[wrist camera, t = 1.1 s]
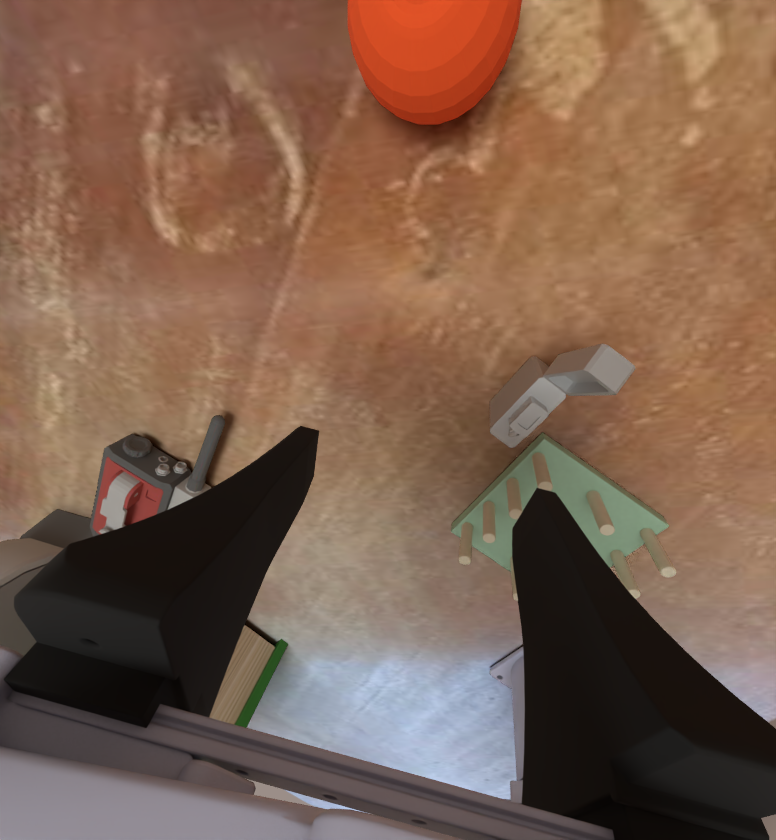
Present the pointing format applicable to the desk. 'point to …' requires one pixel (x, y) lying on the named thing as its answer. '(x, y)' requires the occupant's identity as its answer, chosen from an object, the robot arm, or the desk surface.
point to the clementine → (431, 52)
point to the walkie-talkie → (147, 480)
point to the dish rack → (583, 497)
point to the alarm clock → (32, 568)
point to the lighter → (554, 388)
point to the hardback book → (246, 678)
